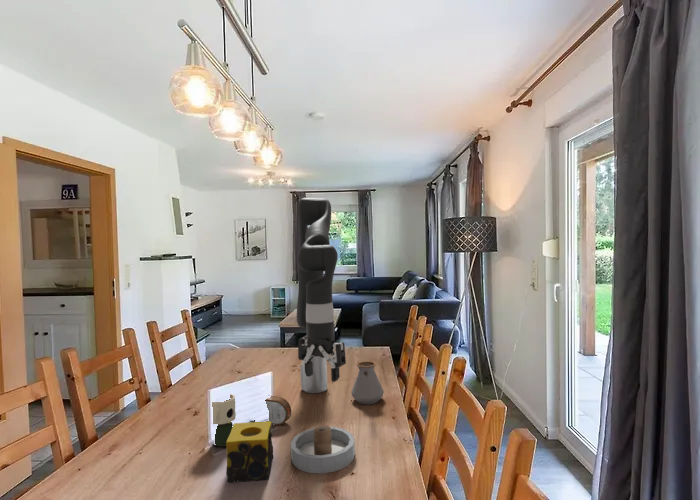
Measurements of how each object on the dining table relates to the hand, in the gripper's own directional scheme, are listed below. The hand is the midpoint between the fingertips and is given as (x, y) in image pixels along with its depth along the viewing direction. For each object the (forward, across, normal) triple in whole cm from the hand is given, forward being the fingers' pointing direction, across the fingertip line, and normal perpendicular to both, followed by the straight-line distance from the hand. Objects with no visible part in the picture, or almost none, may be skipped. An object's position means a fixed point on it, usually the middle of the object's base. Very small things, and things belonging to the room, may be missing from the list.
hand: (322, 378), depth 108 cm
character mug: (+20, -27, -12) cm, 35 cm away
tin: (+20, -25, +4) cm, 32 cm away
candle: (+19, -10, -18) cm, 28 cm away
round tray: (+19, +2, -4) cm, 19 cm away
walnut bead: (+18, +2, -4) cm, 19 cm away
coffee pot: (+20, -4, +30) cm, 36 cm away
